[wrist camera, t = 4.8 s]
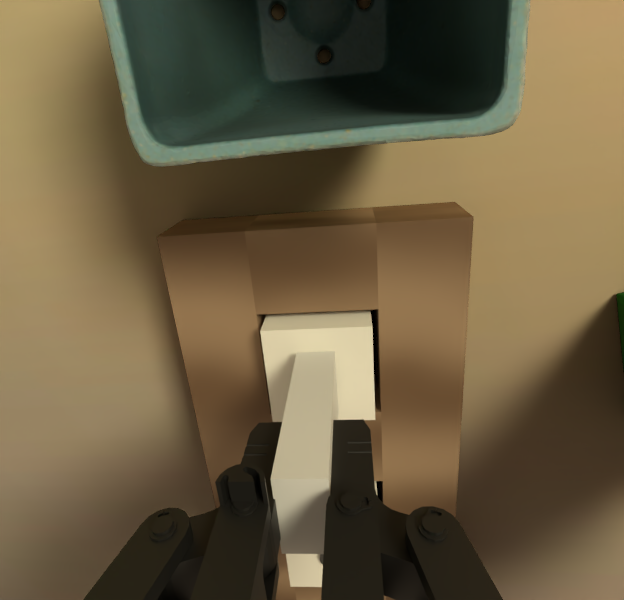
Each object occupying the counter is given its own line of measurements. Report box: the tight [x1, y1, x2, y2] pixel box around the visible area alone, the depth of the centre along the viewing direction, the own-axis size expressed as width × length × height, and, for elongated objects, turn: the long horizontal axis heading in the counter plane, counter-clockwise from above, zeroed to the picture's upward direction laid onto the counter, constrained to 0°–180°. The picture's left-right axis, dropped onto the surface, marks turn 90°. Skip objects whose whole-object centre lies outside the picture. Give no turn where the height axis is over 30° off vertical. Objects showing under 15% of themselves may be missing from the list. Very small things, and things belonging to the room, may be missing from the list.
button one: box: [260, 310, 375, 422], centre depth 20 cm, size 4×4×4 cm
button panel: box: [157, 202, 473, 600], centre depth 24 cm, size 30×12×3 cm, turn 5°
